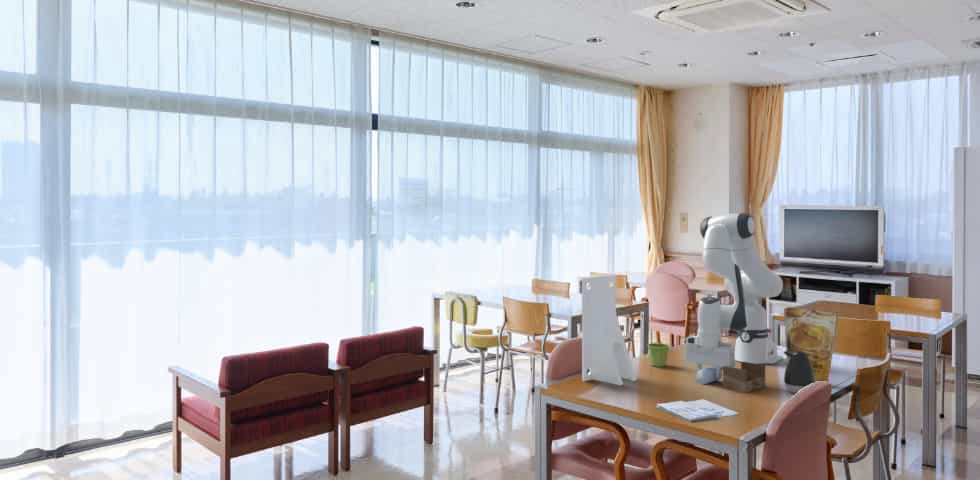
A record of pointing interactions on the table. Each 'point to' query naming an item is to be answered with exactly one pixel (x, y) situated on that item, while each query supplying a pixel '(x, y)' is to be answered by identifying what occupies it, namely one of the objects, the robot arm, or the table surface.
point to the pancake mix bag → (812, 337)
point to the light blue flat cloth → (696, 410)
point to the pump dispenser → (798, 371)
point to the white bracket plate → (603, 333)
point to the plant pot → (658, 354)
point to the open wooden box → (744, 377)
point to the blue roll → (707, 375)
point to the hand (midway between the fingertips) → (709, 376)
